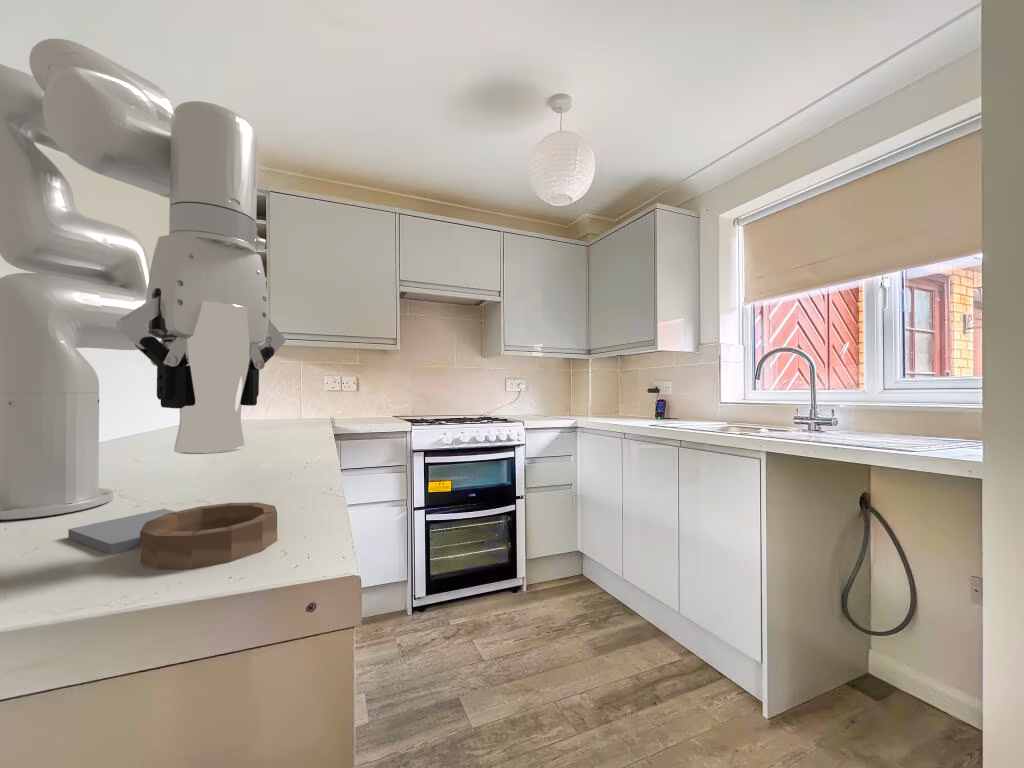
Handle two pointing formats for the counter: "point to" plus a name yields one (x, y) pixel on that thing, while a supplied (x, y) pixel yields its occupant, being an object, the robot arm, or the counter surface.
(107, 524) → the slate mat
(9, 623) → the counter surface
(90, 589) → the counter surface
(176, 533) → the ring
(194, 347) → the beer glass
